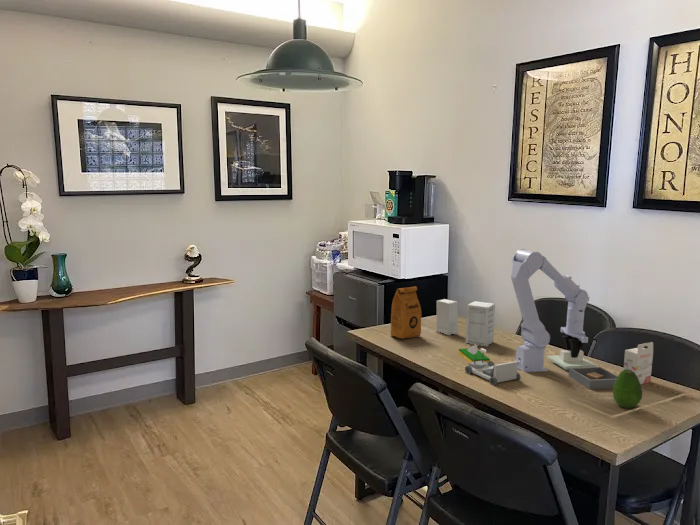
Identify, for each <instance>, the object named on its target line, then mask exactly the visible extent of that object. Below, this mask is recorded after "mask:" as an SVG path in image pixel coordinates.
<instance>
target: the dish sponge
mask: <svg viewBox="0 0 700 525" xmlns="http://www.w3.org/2000/svg"><path fill="white" fill-rule="evenodd" d="M468 348H469V347H468ZM468 348H458V355H459V356H461V357H462V358H463V357H464V358H465V359H464V360H466V362H468V363H469V362H474V358H475V354H471V353H470V352H469V351H467V349H468ZM482 354H483V352H480V350H479V349H477V353H476V361H482ZM476 361H475V362H476ZM483 361H484V362H486V363H488V362H489V361H491V359H490V357H488V356H487V355H486V354H484V356H483Z"/></svg>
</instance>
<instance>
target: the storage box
mask: <svg viewBox="0 0 700 525" xmlns="http://www.w3.org/2000/svg"><path fill="white" fill-rule="evenodd" d="M592 372H595V373H598V374H601V375H603V376H604V379H596V380H590V379H588V378H587V377H586V374H588V373H592ZM568 377H569V378H570V379H572V380H573V381H576V382H577V383H579V384H580V385H582V386H584V387H585V388H586V389H588V390H596V389H598V390H599V389H600V390H601V389H613V385H614V383H615V381H616V379H617V377H618V375H616V374H614V373H612V372H611V371H608V370H607V369H606V368H603V367H601V366H597V367H586V368H569V370H568Z"/></svg>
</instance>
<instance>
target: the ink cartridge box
mask: <svg viewBox="0 0 700 525" xmlns="http://www.w3.org/2000/svg"><path fill="white" fill-rule="evenodd" d="M645 347H646V348H645ZM623 358H624V359H623V360H624V361H623V370H625V369H628V370H631V371H633V372H634V373H635V374H636V376H637V377H638V380H639V382H640V385H643V384H647V383H651V379H652V370H653V368H652V367H653V358H654V342H653V341H650V342H645V343H641V344H640V343H639V344H637V347H635V348H629V349H625V350H624V357H623Z"/></svg>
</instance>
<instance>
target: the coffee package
mask: <svg viewBox="0 0 700 525" xmlns="http://www.w3.org/2000/svg"><path fill="white" fill-rule="evenodd" d="M416 291H418V287H417V286H411V287H401V288H397V289H396V291H395V293H394V297H393V298H392V303H391V313H390V336H391V337H395V338H397V339H409V338H411V339H412V338H417V337H420V336H421V334H422V314H423V313H422V308H421V304H420V301H419V298H418V295H417V292H416Z"/></svg>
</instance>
